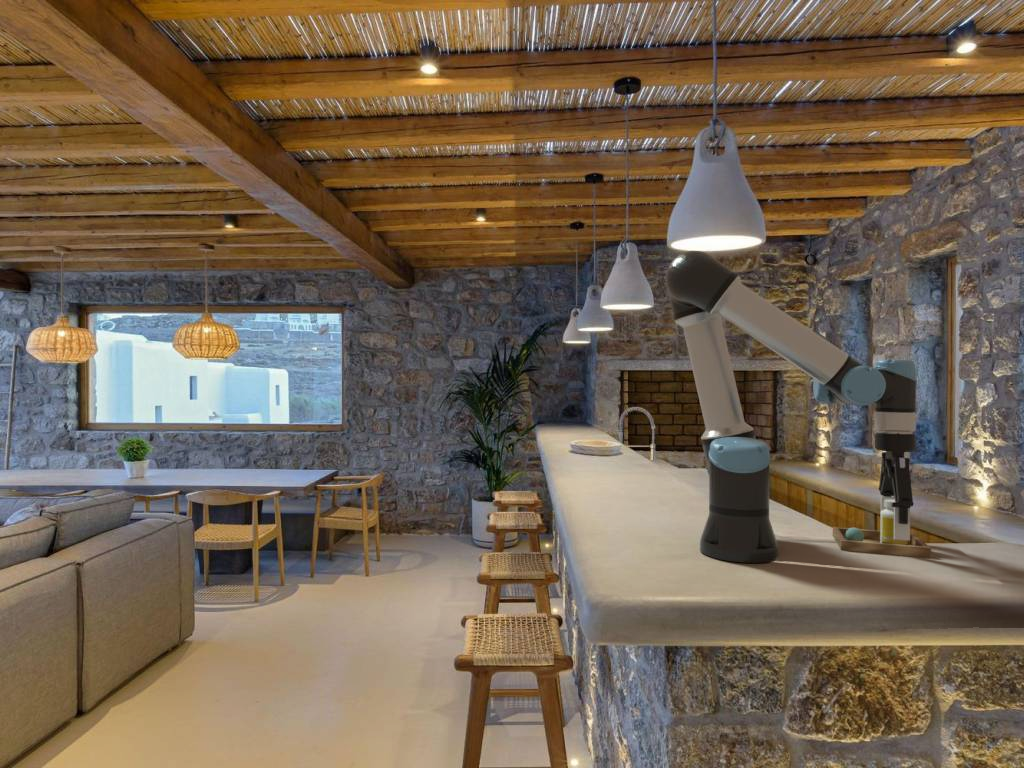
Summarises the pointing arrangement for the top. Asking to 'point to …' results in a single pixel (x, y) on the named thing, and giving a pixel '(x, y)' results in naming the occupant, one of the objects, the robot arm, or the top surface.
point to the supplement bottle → (889, 525)
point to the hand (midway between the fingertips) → (894, 532)
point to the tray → (881, 544)
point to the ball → (854, 534)
